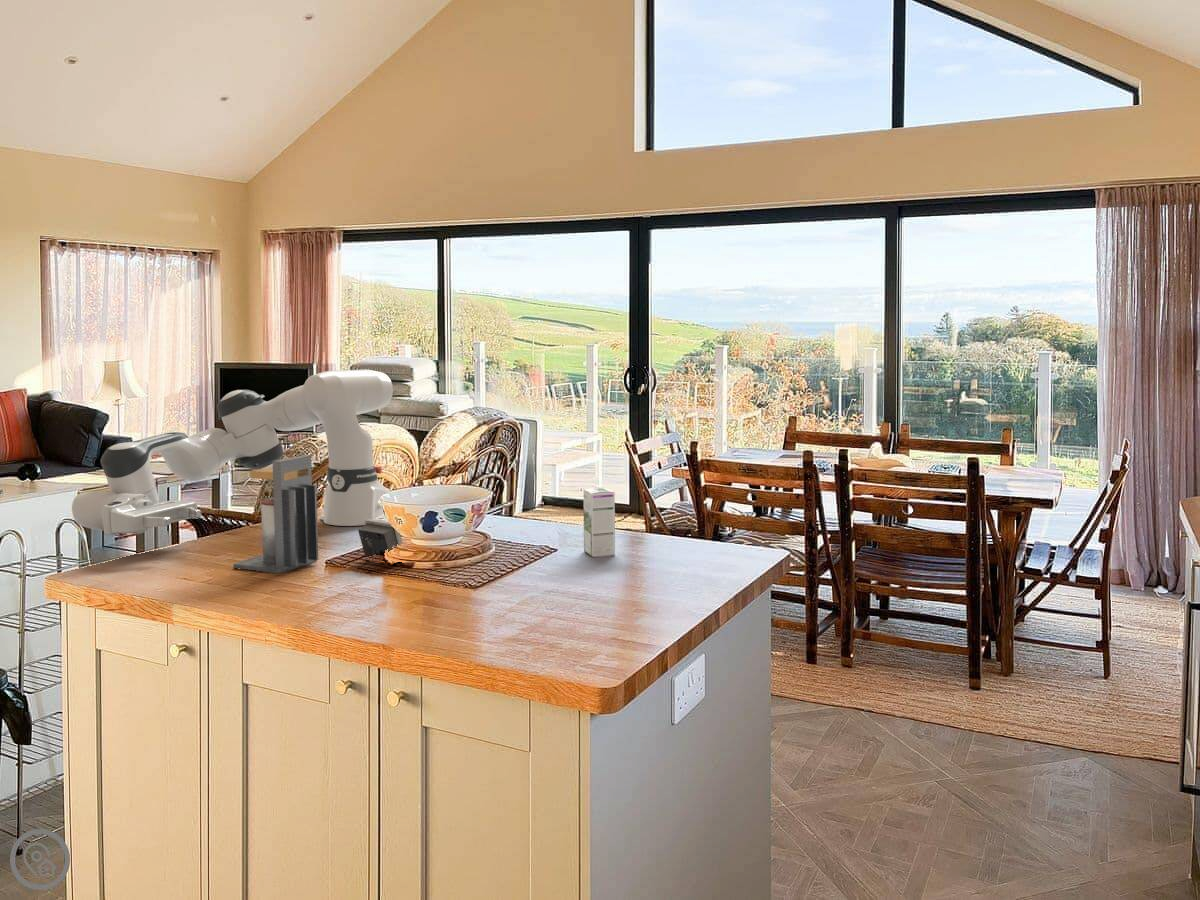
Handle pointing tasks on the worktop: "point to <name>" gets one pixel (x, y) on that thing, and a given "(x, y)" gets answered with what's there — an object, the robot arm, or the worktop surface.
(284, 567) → the bracket
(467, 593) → the worktop surface
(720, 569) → the worktop surface
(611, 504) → the syrup box
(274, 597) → the worktop surface
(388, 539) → the electrical switch
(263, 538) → the can
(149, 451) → the robot arm
